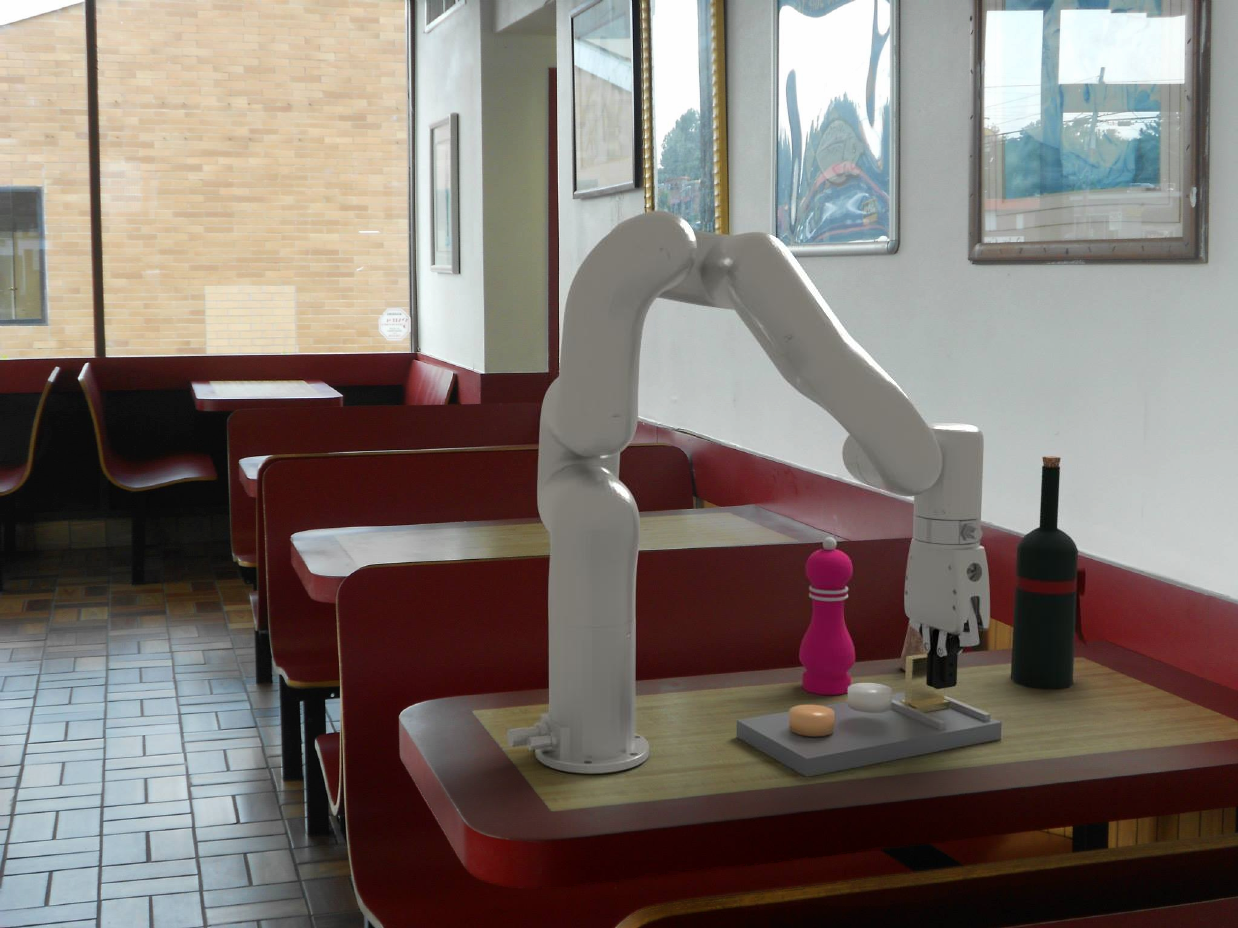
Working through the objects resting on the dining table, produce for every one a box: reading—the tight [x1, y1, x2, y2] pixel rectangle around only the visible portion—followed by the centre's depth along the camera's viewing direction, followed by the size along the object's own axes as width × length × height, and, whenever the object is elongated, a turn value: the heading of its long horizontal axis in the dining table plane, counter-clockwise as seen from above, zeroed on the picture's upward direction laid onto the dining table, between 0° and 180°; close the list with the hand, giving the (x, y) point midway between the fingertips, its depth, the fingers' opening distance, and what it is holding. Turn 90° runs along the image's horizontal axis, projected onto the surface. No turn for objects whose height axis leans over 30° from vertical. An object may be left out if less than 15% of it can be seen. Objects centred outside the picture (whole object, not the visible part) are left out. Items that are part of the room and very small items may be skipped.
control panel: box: [736, 691, 1003, 778], centre depth 145 cm, size 27×14×3 cm, turn 116°
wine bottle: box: [1010, 455, 1088, 690], centre depth 167 cm, size 8×10×30 cm
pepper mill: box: [798, 536, 856, 696], centre depth 164 cm, size 7×7×20 cm
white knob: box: [846, 682, 893, 713], centre depth 145 cm, size 5×5×2 cm
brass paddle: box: [900, 654, 949, 712], centre depth 150 cm, size 5×3×6 cm, turn 116°
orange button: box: [788, 704, 835, 736], centre depth 142 cm, size 5×5×2 cm
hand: (941, 685), depth 147 cm, fingers closed
